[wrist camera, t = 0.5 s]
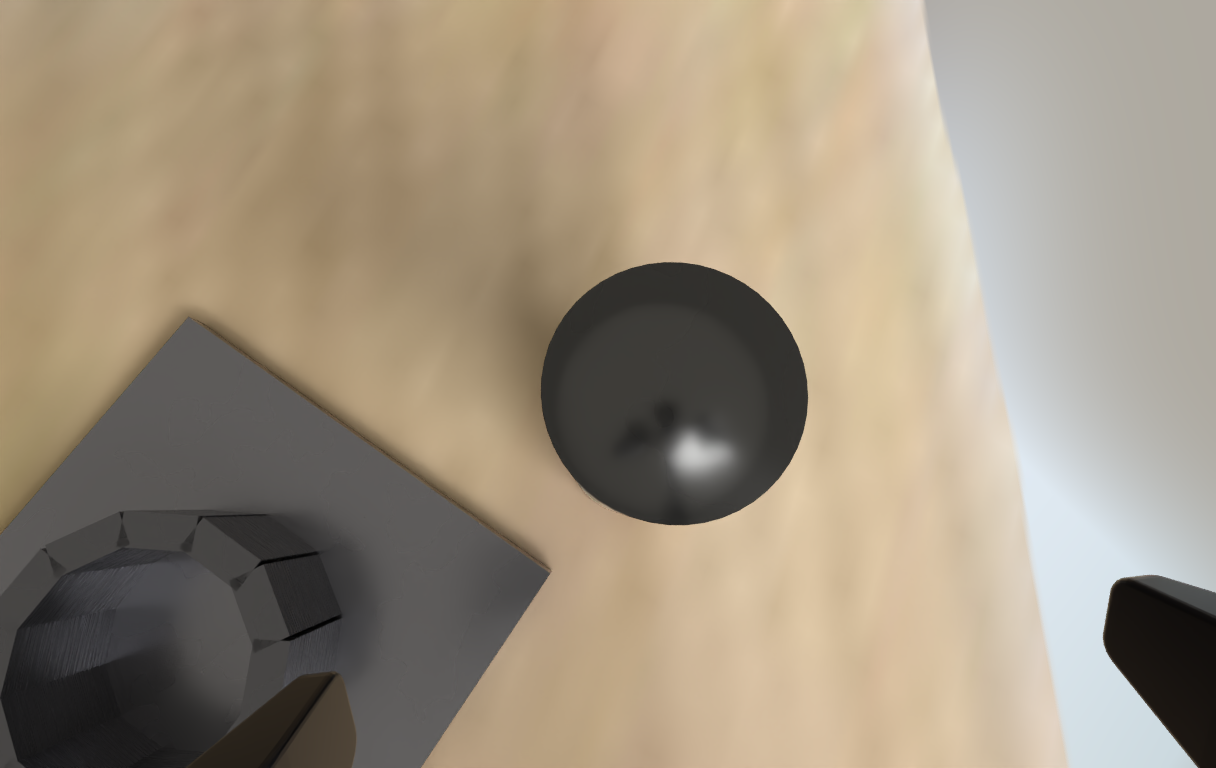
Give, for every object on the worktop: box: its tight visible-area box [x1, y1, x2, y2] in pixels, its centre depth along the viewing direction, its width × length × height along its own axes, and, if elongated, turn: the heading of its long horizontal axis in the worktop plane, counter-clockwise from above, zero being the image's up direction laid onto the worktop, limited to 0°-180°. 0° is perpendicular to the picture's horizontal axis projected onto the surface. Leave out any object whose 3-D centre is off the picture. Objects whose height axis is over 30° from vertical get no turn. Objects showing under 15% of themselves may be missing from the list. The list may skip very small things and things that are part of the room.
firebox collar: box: [0, 317, 551, 768], centre depth 18 cm, size 16×16×4 cm
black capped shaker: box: [541, 262, 808, 525], centre depth 16 cm, size 4×4×12 cm
